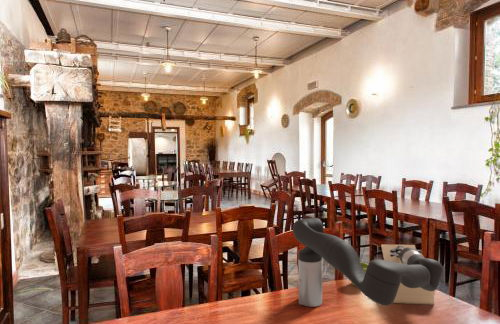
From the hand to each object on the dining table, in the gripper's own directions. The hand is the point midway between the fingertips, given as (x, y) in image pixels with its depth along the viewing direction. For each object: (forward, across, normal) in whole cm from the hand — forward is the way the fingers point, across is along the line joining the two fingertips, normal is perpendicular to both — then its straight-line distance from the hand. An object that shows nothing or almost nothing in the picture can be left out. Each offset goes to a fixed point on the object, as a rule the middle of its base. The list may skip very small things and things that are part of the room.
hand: (399, 247), depth 150 cm
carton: (-11, 0, -17) cm, 20 cm away
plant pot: (+1, -17, -17) cm, 24 cm away
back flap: (-5, 0, -7) cm, 9 cm away
